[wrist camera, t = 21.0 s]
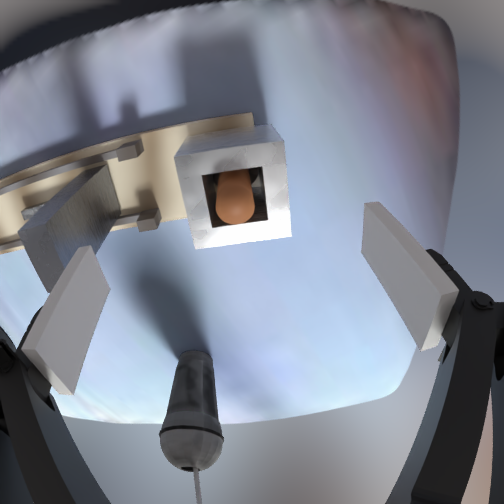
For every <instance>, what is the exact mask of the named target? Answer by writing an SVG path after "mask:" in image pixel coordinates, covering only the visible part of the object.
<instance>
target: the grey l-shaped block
mask: <svg viewBox="0 0 504 504" xmlns="http://www.w3.org/2000/svg"><path fill="white" fill-rule="evenodd" d="M21 214H22V216H23V219H24V221H25V220H28V219H29V220H28V221H27V222H26V223H25V224H24V225H23V226H22V227H21V228H20V229H19V230H18V231H17V232H18V235H19V237H20V239H21V241H22V243H23V246H24V248H25V250H26V252H27V254H28V256H29V258H30V260H31V262H32V264H33V266H34V268H35V270H36V272H37V274H38V276H39V278H40V279H41V281H42V283H43V285H44V287H45V289H46V290H47V292H48V293H51V291H52V290H53V288H54V286H55V284H56V283H57V281H58V279H59V278H60V276H61V274H62V273H63V271H64V270H65V268H66V266H67V265H68V263H69V262H70V260H71V258H72V257H73V255H74V254H75V252H76V251H77V249H78V248H79V247H84V246H89V245H91V246H92V249H93V251H94V254H95V255H96V253H97V251H98V250H99V248H100V246H101V245H102V243H103V241H104V240H105V238H106V237H107V235H108V233H109V232H110V230H111V229H112V227H113V225H114V224H115V222H116V221H117V219H118V218H119V216H120V215H121V210H120V206H119V203H118V200H117V197H116V194H115V190H114V187H113V184H112V180H111V177H110V173H109V170H108V166H107V164H106V165H102V166H98V167H95V168H91V169H87V170H84V171H82V172H81V173H80V174H79V175H77V176H76V177H75V178H74V179H73V180H72V181H70V182H69V183H68V184H67V185H66V186H65V187H63V188H62V189H61V190H60V191H59V192H58V193H57V194H56V195H54V196H53V197H52V198H51V199H50V200H49V201H46V202H43V203H39V204H36V205H33V206H29V207H26V208H24V209H23V210H22V211H21Z"/></svg>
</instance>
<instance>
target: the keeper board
mask: <svg viewBox="0 0 504 504" xmlns="http://www.w3.org/2000/svg"><path fill="white" fill-rule="evenodd" d="M249 126H254V120H253V114H252V112H249V113H241V114H234V115H227V116H221V117H214V118H208V119H203V120H197V121H191V122H186V123H181V124H176V125H171V126H167V127H162V128H157V129H153V130H149V131H144V132H140V133H136V134H132V135H128V136H125V137H121V138H117V139H113V140H110V141H106V142H103V143H99V144H96V145H93V146H89V147H86V148H83V149H80V150H77V151H74V152H70V153H67V154H65V155H62V156H59V157H56V158H53V159H50V160H47V161H45V162H42V163H39V164H37V165H34V166H32V167H29V168H26V169H24V170H21V171H19V172H17V173H14V174H12V175H9V176H7V177H5V178H2V179H0V254H4V253H8V252H13V251H17V250H21V249H25V248H24V246H23V243H22V241H21V239H20V237H19V235H18V232H17V231H18V230H19V229H20V228H21V227H22V226H23V225H24V224H25V223H26V222H27V221H28V220H29V219H28V220H25V221H24V219H23V216H22V214H21V211H22V210H23V209H24V208H26V207H29V206H33V205H36V204H39V203H43V202H46V201H49V200H50V199H51V198H52V197H53V196H54V195H56V194H57V193H58V192H59V191H60V190H61V189H62V188H63V187H65V186H66V185H67V184H68V183H69V182H70V181H72V180H73V179H74V178H75V177H76V176H77V175H79V174H80V173H81V172H82V171H84V170H87V169H91V168H95V167H98V166H102V165H106V164H107V166H108V170H109V173H110V177H111V180H112V184H113V187H114V190H115V194H116V197H117V200H118V203H119V206H120V210H121V215H120V216H119V218H118V219H117V221H116V222H115V224H114V225H113V227H112V229H111V230H110V231H114V230H120V229H125V228H131V227H137V226H138V229H139V232H143V231H149V230H155V229H157V228H158V226H159V223H160V222H166V221H172V220H178V219H184V218H187V214H186V210H185V205H184V201H183V197H182V192H181V188H180V184H179V179H178V175H177V170H176V166H175V161H174V156H175V154H176V153H177V151H178V150H179V148H180V146H181V145H182V143H183V142H184V140H185V139H186V137H187V136H191V135H196V134H202V133H208V132H214V131H221V130H227V129H234V128H241V127H249ZM212 174H213V180H214V185H215V191H216V192H217V199H216V212H217V214H218V216H219V217H220V219H221V220H223V221H224V222H226V223H228V224H235V225H236V224H241V223H244V222H246V221H247V220H249V219H250V218H251V216H252V215H253V213H254V209H255V205H254V199H253V193H252V187H259V186H260V180H259V172H258V167H254V168H246V169H239V170H232V171H225V172H218V173H212Z"/></svg>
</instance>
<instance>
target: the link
mask: <svg viewBox="0 0 504 504" xmlns="http://www.w3.org/2000/svg"><path fill="white" fill-rule="evenodd" d="M174 161H175V166H176V170H177V175H178V179H179V184H180V188H181V192H182V197H183V201H184V205H185V210H186V214H187V218H188V222H189V226H190V230H191V234H192V238H193V242H194V246H195V249H202V248H209V247H216V246H223V245H231V244H238V243H245V242H253V241H260V240H268V239H275V238H282V237H290V236H291V223H290V208H289V195H288V182H287V169H286V158H285V147H284V140H283V139H282V138H281V136H280V135H279V133H278V132H277V131H276V129H275V128H274V127H273V125H272V124H266V125H257V126H249V127H241V128H234V129H227V130H221V131H214V132H208V133H202V134H196V135H191V136H187V137H186V139H185V140H184V142H183V143H182V145H181V146H180V148H179V150H178V151H177V153H176V154H175V156H174ZM254 167H258V172H259V180H260V186H259V187H252V193H253V199H254V205H255V209H254V213H253V215H252V216H251V218H250V219H249V220H247V221H246V222H244V223H241V224H236V225H235V224H228V223H226V222H224V221H223V220H221V219H220V217H219V216H218V214H217V212H216V199H217V192H216V191H215V185H214V180H213V174H212V173H218V172H225V171H232V170H239V169H246V168H254Z"/></svg>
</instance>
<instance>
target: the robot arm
mask: <svg viewBox="0 0 504 504" xmlns="http://www.w3.org/2000/svg"><path fill="white" fill-rule="evenodd" d="M361 253H362V254H363V256H364V258H365V259H366V261H367V262H368V264H369V265H370V267H371V268H372V270H373V272H374V273H375V275H376V276H377V278H378V279H379V281H380V283H381V284H382V286H383V288H384V289H385V291H386V292H387V294H388V296H389V297H390V299H391V301H392V302H393V304H394V306H395V307H396V309H397V311H398V312H399V314H400V316H401V318H402V319H403V321H404V323H405V325H406V326H407V328H408V330H409V332H410V333H411V335H412V337H413V339H414V341H415V342H416V344H417V346H418V348H419V350H420V351H424V350H427V349H430V348H433V347H436V346H437V345H438V343H439V341H440V338H441V336H443V338H444V340H445V341H446V345H445V347H444V349H443V351H442V353H441V355H440V357H439V359H438V361H440V365H439V369H438V373H437V376H436V380H435V383H434V387H433V390H432V393H431V396H430V400H429V403H428V406H427V409H426V411H425V414H424V417H423V420H422V423H421V426H420V428H419V431H418V434H417V436H416V439H415V441H414V444H413V446H412V448H411V451H410V453H409V456H408V458H407V460H406V462H405V465H404V467H403V469H402V471H401V473H400V476H399V478H398V480H397V482H396V484H395V486H394V488H393V490H392V492H391V494H390V496H389V498H388V499H387V501H386V503H385V504H461V501H462V497H463V495H464V492H465V489H466V486H467V484H468V481H469V478H470V474H471V471H472V468H473V465H474V462H475V458H476V455H477V451H478V447H479V443H480V439H481V435H482V431H483V426H484V422H485V417H486V411H487V406H488V400H489V394H490V388H491V397H492V414H493V461H492V476H491V488H490V497H489V504H504V302H494V300H493V299H492V298H491V297H490V296H489V295H487V294H485V293H483V292H479V291H472V290H471V288H470V287H469V286H468V285H467V284H466V282H465V281H464V280H463V279H462V278H461V277H460V275H459V274H458V273H457V272H456V271H455V270H454V269H453V267H452V266H451V265H450V264H448V262H447V261H446V260H445V258H444V257H443V256H442V255H441V254H439V253H437V252H436V251H434V250H432V249H428V250H425V249H424V248H423V247H422V246H421V245H420V244H419V243H418V242H417V240H416V239H415V238H414V237H413V236H412V235H411V234H410V233H409V232H408V231H407V230H406V229H405V228H404V227H403V225H402V224H401V223H400V222H399V221H398V220H397V219H396V218H395V217H394V216H393V215H392V214H391V213H390V212H389V211H388V210H387V209H386V208H385V207H384V206H383V205H382V204H381V203H380V202H370V203H364V222H363V237H362V249H361ZM109 291H110V287H109V285H108V283H107V281H106V279H105V276H104V274H103V272H102V270H101V267H100V265H99V263H98V261H97V258H96V256H95V254H94V251H93V249H92V246H91V245H89V246H84V247H79V248H78V249H77V251H76V252H75V254H74V255H73V257H72V258H71V260H70V262H69V263H68V265H67V266H66V268H65V270H64V271H63V273H62V274H61V276H60V278H59V279H58V281H57V283H56V284H55V286H54V288H53V290H52V291H51V293H50V295H49V297H48V298H47V300H46V302H45V304H44V305H43V306H42V307H41V308H40V309H39V310H38V311H37V312H36V313H35V315H34V317H33V318H32V320H31V322H30V323H31V324H29V326H28V328H27V331H26V332H25V334H24V336H23V338H22V340H21V342H20V344H19V346H18V348H17V350H16V349H15V347H14V345H13V343H12V342H11V340H10V339H9V338H8V336H7V335H6V334H5V333H4V331H3V330H2V329H1V328H0V504H111V503H110V502H109V500H108V499H107V497H106V496H105V494H104V493H103V491H102V489H101V488H100V486H99V485H98V483H97V481H96V480H95V478H94V477H93V475H92V473H91V472H90V470H89V468H88V466H87V465H86V463H85V461H84V459H83V458H82V456H81V454H80V452H79V450H78V448H77V446H76V445H75V442H74V440H73V439H72V437H71V435H70V432H69V430H68V428H67V426H66V424H65V422H64V420H63V418H62V415H61V413H60V411H59V409H58V406H57V404H56V402H55V399H54V397H53V396H52V395H51V394H50V389H51V386H52V387H53V388H54V389H55V390H56V391H57V392H58V393H59V394H63V395H74V392H75V389H76V386H77V382H78V379H79V376H80V372H81V369H82V366H83V363H84V360H85V357H86V354H87V351H88V348H89V345H90V342H91V339H92V336H93V334H94V331H95V328H96V325H97V322H98V320H99V317H100V314H101V312H102V309H103V307H104V304H105V301H106V299H107V296H108V294H109ZM33 502H34V503H33Z"/></svg>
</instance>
